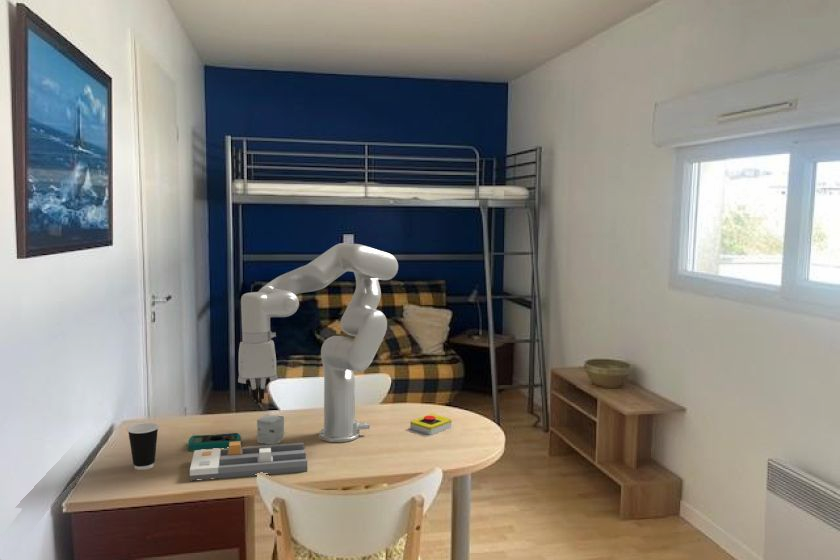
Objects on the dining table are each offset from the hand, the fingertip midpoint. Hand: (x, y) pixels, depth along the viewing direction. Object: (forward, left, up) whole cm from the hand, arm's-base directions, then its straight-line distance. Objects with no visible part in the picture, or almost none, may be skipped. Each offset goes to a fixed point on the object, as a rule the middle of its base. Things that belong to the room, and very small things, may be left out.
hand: (258, 401), depth 178 cm
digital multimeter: (+13, -15, -18) cm, 26 cm away
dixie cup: (+30, -2, -17) cm, 35 cm away
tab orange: (+7, 0, -15) cm, 16 cm away
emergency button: (-55, -16, -18) cm, 60 cm away
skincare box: (-4, -15, -17) cm, 23 cm away
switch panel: (+2, +4, -17) cm, 18 cm away
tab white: (-2, +7, -15) cm, 17 cm away
